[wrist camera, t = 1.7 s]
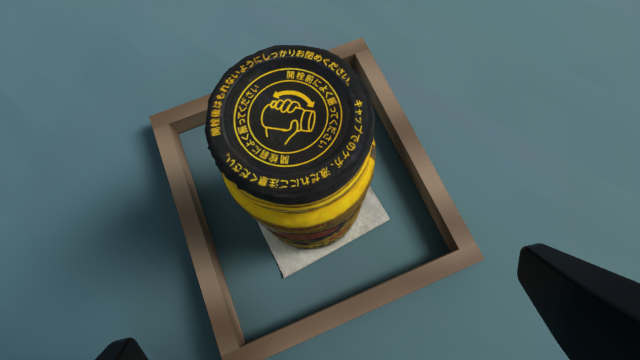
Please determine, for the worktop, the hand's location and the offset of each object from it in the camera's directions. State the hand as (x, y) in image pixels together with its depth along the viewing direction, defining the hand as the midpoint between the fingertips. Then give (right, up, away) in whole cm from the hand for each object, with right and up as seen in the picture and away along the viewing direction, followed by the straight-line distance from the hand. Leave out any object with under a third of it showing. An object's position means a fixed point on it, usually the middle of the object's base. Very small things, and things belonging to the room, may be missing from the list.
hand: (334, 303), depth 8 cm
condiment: (-1, +2, +14) cm, 14 cm away
